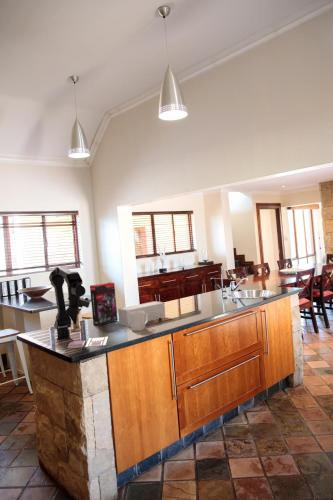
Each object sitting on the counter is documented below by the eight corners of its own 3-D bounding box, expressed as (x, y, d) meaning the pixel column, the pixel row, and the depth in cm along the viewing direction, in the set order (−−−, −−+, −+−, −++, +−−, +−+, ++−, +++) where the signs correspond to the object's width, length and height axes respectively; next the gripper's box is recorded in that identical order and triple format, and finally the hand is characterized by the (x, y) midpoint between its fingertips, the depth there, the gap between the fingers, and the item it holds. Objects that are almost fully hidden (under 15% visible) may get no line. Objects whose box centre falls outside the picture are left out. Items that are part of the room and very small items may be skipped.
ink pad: (68, 348, 200) (67, 345, 200) (71, 343, 209) (70, 341, 209) (83, 347, 201) (82, 344, 201) (85, 342, 210) (85, 340, 210)
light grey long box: (155, 316, 272) (154, 301, 272) (165, 317, 264) (164, 302, 264) (119, 324, 251) (118, 308, 251) (128, 326, 243) (127, 310, 243)
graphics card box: (98, 326, 249) (95, 285, 248) (92, 325, 254) (89, 285, 253) (118, 321, 262) (115, 282, 261) (111, 320, 266) (109, 282, 266)
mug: (136, 332, 225) (135, 314, 225) (128, 330, 232) (127, 312, 232) (152, 328, 233) (151, 310, 233) (143, 326, 240) (142, 309, 240)
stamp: (71, 332, 203) (69, 313, 202) (72, 330, 208) (71, 311, 207) (80, 331, 203) (79, 312, 203) (81, 329, 208) (80, 311, 208)
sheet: (84, 347, 201) (84, 346, 201) (89, 338, 219) (89, 337, 219) (105, 345, 202) (105, 344, 202) (108, 336, 220) (108, 336, 220)
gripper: (86, 296, 196) (88, 325, 197) (90, 291, 215) (92, 318, 215) (64, 297, 195) (67, 327, 196) (70, 293, 214) (72, 320, 214)
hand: (75, 323), depth 205 cm, fingers closed on stamp, 4 cm apart
